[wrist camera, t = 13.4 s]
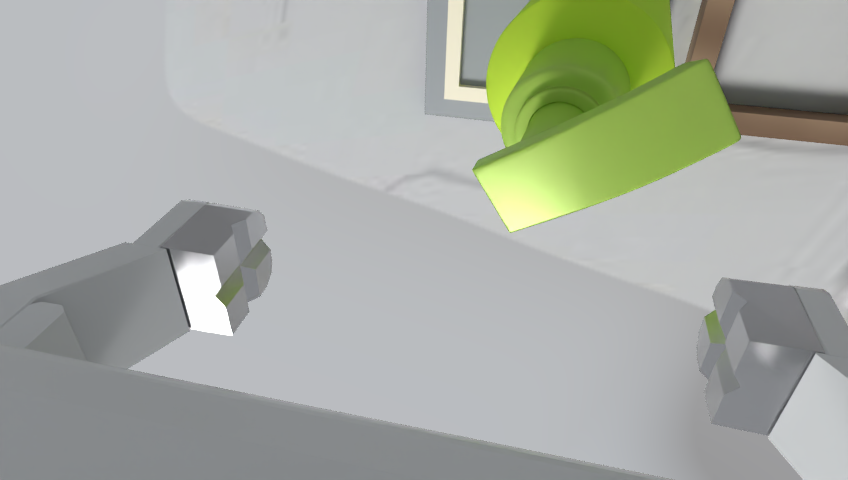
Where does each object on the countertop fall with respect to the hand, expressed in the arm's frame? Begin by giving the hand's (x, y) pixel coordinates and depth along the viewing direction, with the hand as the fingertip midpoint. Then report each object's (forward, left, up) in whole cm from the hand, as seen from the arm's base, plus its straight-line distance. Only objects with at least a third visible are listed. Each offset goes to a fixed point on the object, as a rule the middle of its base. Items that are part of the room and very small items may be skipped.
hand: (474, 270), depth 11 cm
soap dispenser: (0, +3, -24) cm, 24 cm away
